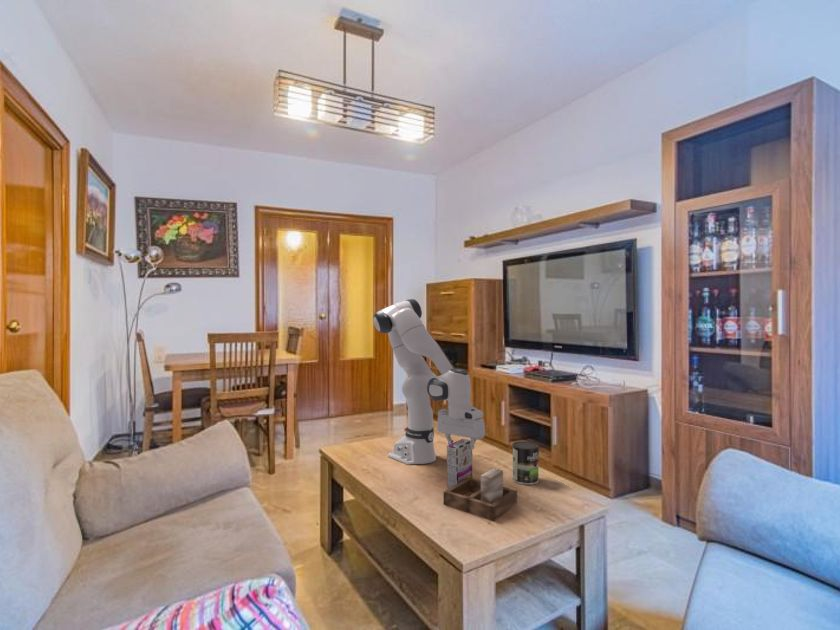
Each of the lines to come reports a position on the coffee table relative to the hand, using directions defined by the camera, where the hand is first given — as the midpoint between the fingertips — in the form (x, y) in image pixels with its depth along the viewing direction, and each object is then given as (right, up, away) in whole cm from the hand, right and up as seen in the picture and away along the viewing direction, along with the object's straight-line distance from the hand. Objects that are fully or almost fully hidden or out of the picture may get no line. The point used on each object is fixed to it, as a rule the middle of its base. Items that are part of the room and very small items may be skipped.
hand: (460, 446), depth 179 cm
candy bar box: (0, -15, +1) cm, 15 cm away
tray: (+5, -15, -16) cm, 23 cm away
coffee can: (+26, -15, +6) cm, 31 cm away
